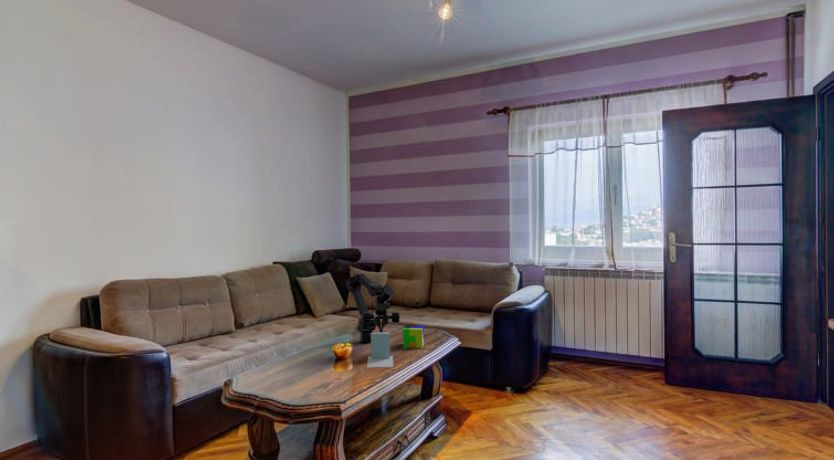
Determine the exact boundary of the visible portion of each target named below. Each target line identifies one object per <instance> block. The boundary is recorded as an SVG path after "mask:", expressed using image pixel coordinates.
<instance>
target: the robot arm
mask: <svg viewBox="0 0 834 460" xmlns="http://www.w3.org/2000/svg"><path fill="white" fill-rule="evenodd" d="M362 286H363V287H364V288H365V289H366V290H367V293H368V295H369V296H370V297H374V298H375V297H376V298H375V301H374V303H375V311H374V312H375V313H372V312H370V311H369V309H368V306H367V304H366V301H365V298H364V296H363V292H362ZM345 287H346V288H347V291H349V292H350V293H351V294H352V295H353V299H354V301H355V304H356V307H357V310H358V312H359V315H360V317H359V324H358V325H357V327H356V328H357V331H358V332H359V335H360V340H358V343H361V344H371V333H373V331H376V328H378V330H379V333H383V331H384V329H385V327H386V326H387V325H388V324H389V320H391V322H392V323H395V324H396V323H400V319H401V318H400V317H401V316H400V312H398V311H397V312H391V314H388V310H390V309H391V308H390V305H391V304H390V302H388V301H390V300H391V298H393V296H394V295H395V289H394V288H392V287H391V286H389V284H384V286H383V284H380V283H375V282H374V281H372V280H371V279H370V278H368V277H367V276H366V275H365V274H364V273H356V274H355V275H353V276H351V277H349V278H347V279H346V281H345ZM381 320H382V321H381ZM376 326H377V327H376Z"/></svg>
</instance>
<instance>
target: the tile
mask: <svg viewBox="0 0 834 460" xmlns="http://www.w3.org/2000/svg"><path fill="white" fill-rule="evenodd" d="M390 337H391V333H390V332H382V333H380V332H372V333H371V343H370V351H371V352H370V354H371V355H370V356H371V359H385V358H390V356H391V349H390V348H391V338H390Z"/></svg>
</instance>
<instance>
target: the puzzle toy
mask: <svg viewBox="0 0 834 460" xmlns="http://www.w3.org/2000/svg"><path fill="white" fill-rule="evenodd" d="M424 330H425V328H424V325H421V324H420V325H418V324H417V325H413V324H410V325H409V324H405V326H404V327H403V329H402V342H403V343H402V344H403V345H402V347H403V348H409V349H410V348H412V349H413V348H414V349H415V348H417V349H418V348H419V349H421V350H422V349H423V347H424V343H425V338H424V337H425V335H424V333H425V332H424Z"/></svg>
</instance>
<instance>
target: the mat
mask: <svg viewBox="0 0 834 460" xmlns="http://www.w3.org/2000/svg"><path fill="white" fill-rule="evenodd" d="M391 367H392V368H393V367H394V355H390V358H385V359H371V355H369V356H367V363H366V368H391Z"/></svg>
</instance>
